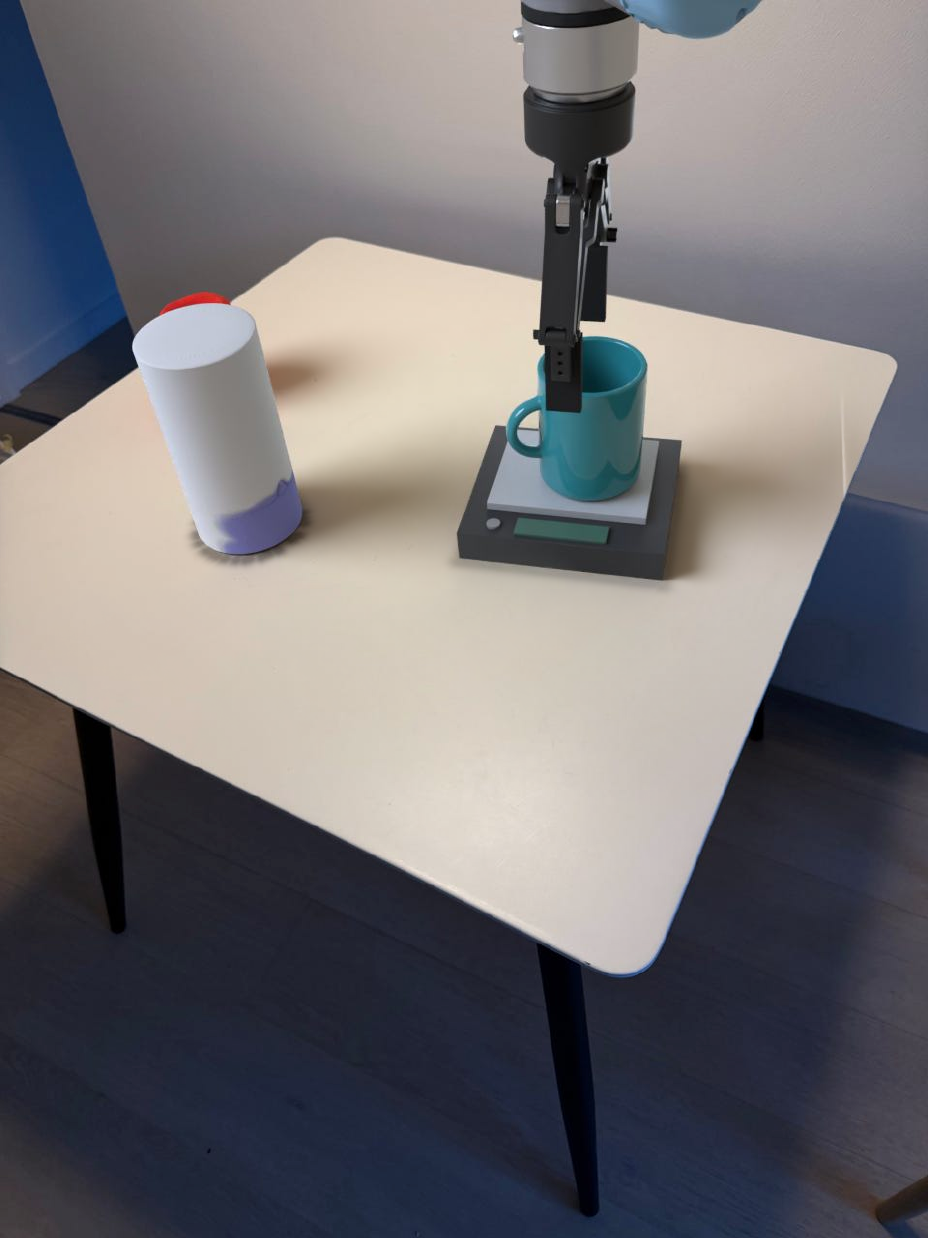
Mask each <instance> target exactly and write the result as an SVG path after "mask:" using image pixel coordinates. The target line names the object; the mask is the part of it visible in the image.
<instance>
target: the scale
mask: <svg viewBox="0 0 928 1238" xmlns="http://www.w3.org/2000/svg"><path fill="white" fill-rule="evenodd" d="M517 434H518V438H519V439H520V440H521V441H522V442H524V443H526V444H530V445H537V444H538V442H539V428H534V427H523V426H522V427H521V426H519V427H518V431H517ZM682 443H683V440H681V439H673V438H672V439H671V438H660V437H659V438H658V437H645V436H643V444H642V459H641V470H640V474H639V476H638V478H637V480H636V482H635V483H634V484H633V485H632V486H631V487H630V488H629V489H628V490H626V491H625V492H623V493H621V494H620V495H617V496H615V497H612V498H609V499H605V500H599V501H581V500H575V499H571V498H567V497H565V496H562V495H560V494H558V493H556V492H555V491H553V490H552V489H551V488H550V487H549V486H548V485H547V484H546V483H545V481H544V480H543V478H542V476H541V473H540V462H539V458H529V457H525V456H523V455H521V454H519V453H517V452H516V451H515V450H514V449H513V448H512V447H511V445H510V444H509V442H508V440H507V435H506V425H500V424H499V425H497V424H496V425H494V428H493V431H492V434H491V436H490V439H489V441H488V445H487V447H486V450H485V453H484V455H483V459H482V461H481V463H480V467H479V470H478V473H477V475H476V478H475V481H474V483H473V487H472V489H471V492H470V495H469V498H468V500H467V503H466V506H465V508H464V512H463V514H462V518H461V520H460V522H459V525H458V528H457V530H456V531H457V532H456V540H457V549H458V557H459V559H466V560H477V561H482V562H483V561H484V562H494V563H502V564H510V565H511V564H512V565H520V566H529V567H539V568H549V569H555V570H556V569H558V570H565V571H566V570H567V571H574V572H575V571H576V572H583V573H592V574H601V575H611V576H619V577H629V578H639V579H647V580H655V581H663V580H664V574H665V573H664V572H665V566H666V559H667V552H668V545H669V539H670V532H671V524H672V519H673V511H674V504H675V496H676V490H677V482H678V476H679V470H680V461H681V452H682Z"/></svg>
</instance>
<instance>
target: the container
mask: <svg viewBox="0 0 928 1238" xmlns="http://www.w3.org/2000/svg"><path fill="white" fill-rule="evenodd" d="M131 346H132V347H131V348H132V352H133V355H134V357H135V360H136V364H137V366H138V369H139V371H140V374H141V378H142V380H143V384H144V385H145V388H146V391H147V394H148V397H149V399H150V402H151V406H152V409H153V410H154V411H153V412H154V413H155V416H156V419H157V422H158V424H159V427H160V430H161V433H162V436H163V438H164V441H165V444H166V447H167V449H168V453H169V455H170V458H171V461H172V464H173V466H174V469H175V472H176V475H177V477H178V481H179V484H180V486H181V489H182V491H183V494H184V497H185V500H186V503H187V505H188V508H189V511H190V513H191V516H192V519H193V522H194V524H195V528H196V530H197V533H198V535H199V538H200V540H201V541H202V542H203V543H204V544H205V545H206V546H207V547H208V548H210V549H212V550H214V551H217V552H220V553H224V554H229V555H247V554H253V553H259V552H262V551H264V550H268V549H270V548H273V547H274V546H276V545H278V544H280V543H282V542H283V541H285V540H286V539H287V538H288V537H290V536H291V535H292V534H293V533H294V532H295V530H296V529H298V527H299V525H300V523H301V520H302V518H303V506H302V501H301V498H300V494H299V490H298V486H297V483H296V482H297V481H296V478H295V474H294V470H293V465H292V462H291V457H290V454H289V449H288V446H287V442H286V438H285V433H284V431H283V426H282V422H281V418H280V414H279V411H278V410H279V409H278V407H277V406H278V405H277V403H276V398H275V395H274V390H273V386H272V382H271V378H270V373H269V371H268V366H267V362H266V359H265V355H264V351H263V347H262V342H261V338H260V335H259V331H258V326H257V323H256V320H255V318H254V316H252V314H251V313H249V311H247V310H245V309H243V308H242V307H239V306H235V305H232V304H231V305H228V304H219V303H206V304H197V305H191V306H186V307H182V308H178V309H175V310H172V311H170V312H167V313H165V314H163V315H161V316H156V317H155V318H153V319H151V320H150V321H148V323H146V324H145V325H144V326H142V327H141V329H140V330H139V331H138V332H137V334H136V335H135V336H134V338H133V341H132V345H131Z"/></svg>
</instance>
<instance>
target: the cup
mask: <svg viewBox="0 0 928 1238" xmlns="http://www.w3.org/2000/svg"><path fill="white" fill-rule="evenodd" d="M648 365H649V364H648V360H647V358H646V356H645V354H644V353H643V352H642V351H641V350H640V349H639V348H638V347H636V346H635V345H633V344H632V343H630V342H627V341H626V340H622V339H618V338H615V337H612V336H611V337H610V336H602V335H585V336H583V346H582V409H581V413H571V412H556V411H546V393H545V352H543V353H542V355H541V356H540V358H539V359H538V362H537V366H536V377H537V378H536V379H537V383H536V384H537V386H536V387H537V388H536V390H537V391H536V394H535V395H534V396H532V397H530V398H528V399H526V400H524V401H523V402H521V403H520V404H518V405H517V406H516V407H515V408H514V409H513V410H512V412H511V413H510V415H509V416H508V419H507V422H506V425H505V426H506V435H507V440H508V442H509V444H510V445H511V447H512V448H513V449H514V450H515V451H516V452H517V453H519V454H521V455H523V456H525V457H529V458H539V462H540V473H541V476H542V478H543V480H544V481H545V483H546V484H547V485H548V486H549V487H550V488H551V489H552V490H553V491H555V492H556V493H558V494H560V495H562V496H565V497H567V498H571V499H575V500H581V501H599V500H605V499H609V498H612V497H615V496H617V495H620V494H621V493H623V492H625V491H626V490H628V489H629V488H630V487H631V486H632V485H633V484H634V483H635V482H636V480H637V478H638V476H639V474H640V470H641V459H642V444H643V437H644V429H645V427H644V426H645V415H646V414H645V413H646V399H647V398H646V397H647V384H648V368H649V366H648ZM535 412H537V416H538V417H537V418H538V429H539V442H538V444H537V445H530V444H526V443H524V442H522V441H521V440H520V439H519V438H518V434H517V431H518V427H520V425H521V423H522V422H523V420H524V419H526V418H527V417H528V416H530V415H531V414H533V413H535Z"/></svg>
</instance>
